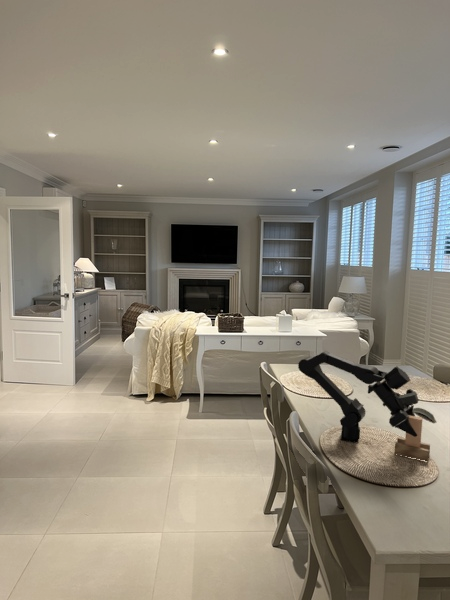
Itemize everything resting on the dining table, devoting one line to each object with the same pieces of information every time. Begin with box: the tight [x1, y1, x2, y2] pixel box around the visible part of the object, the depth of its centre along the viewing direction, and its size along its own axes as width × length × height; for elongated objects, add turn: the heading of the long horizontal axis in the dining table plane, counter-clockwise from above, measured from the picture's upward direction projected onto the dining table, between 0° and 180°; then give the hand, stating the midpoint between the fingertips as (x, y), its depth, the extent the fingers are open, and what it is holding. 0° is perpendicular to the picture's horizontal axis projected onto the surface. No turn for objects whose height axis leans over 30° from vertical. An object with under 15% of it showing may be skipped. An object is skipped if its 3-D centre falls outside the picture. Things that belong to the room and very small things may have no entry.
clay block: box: [404, 415, 424, 448], centre depth 151 cm, size 5×2×13 cm, turn 60°
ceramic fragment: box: [413, 407, 438, 423], centre depth 189 cm, size 14×5×4 cm, turn 15°
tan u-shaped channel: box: [393, 436, 431, 462], centre depth 152 cm, size 11×8×4 cm
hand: (417, 431), depth 150 cm, fingers open, 9 cm apart
